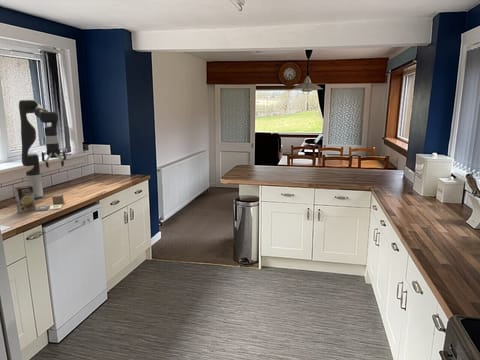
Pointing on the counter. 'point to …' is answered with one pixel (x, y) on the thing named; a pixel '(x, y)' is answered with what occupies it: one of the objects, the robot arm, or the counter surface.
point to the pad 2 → (56, 207)
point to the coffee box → (25, 199)
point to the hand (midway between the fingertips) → (55, 166)
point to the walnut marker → (57, 199)
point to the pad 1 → (42, 208)
